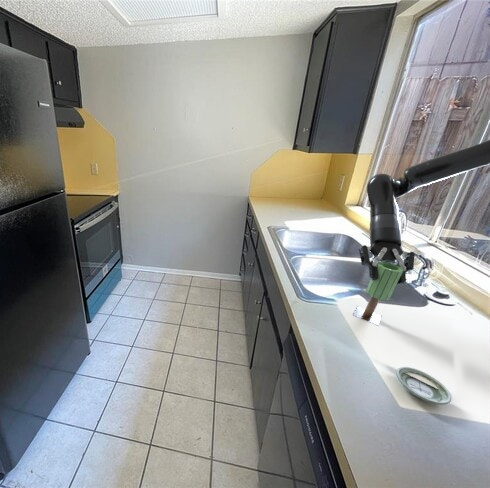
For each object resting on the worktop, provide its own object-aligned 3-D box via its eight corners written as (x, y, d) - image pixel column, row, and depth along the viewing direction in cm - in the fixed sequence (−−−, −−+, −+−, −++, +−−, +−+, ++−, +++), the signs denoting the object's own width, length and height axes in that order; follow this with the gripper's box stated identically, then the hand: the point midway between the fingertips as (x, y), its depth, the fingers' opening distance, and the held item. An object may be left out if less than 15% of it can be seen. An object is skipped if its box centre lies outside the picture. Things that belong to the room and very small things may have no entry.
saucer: (435, 382, 64) (439, 375, 63) (455, 418, 56) (461, 411, 55) (387, 367, 67) (391, 360, 66) (400, 398, 59) (404, 391, 58)
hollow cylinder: (390, 294, 81) (404, 267, 77) (388, 302, 77) (402, 274, 73) (367, 286, 85) (379, 259, 80) (364, 293, 81) (376, 266, 76)
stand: (380, 319, 85) (393, 292, 81) (376, 329, 80) (390, 301, 76) (355, 309, 89) (366, 283, 85) (350, 318, 85) (362, 291, 80)
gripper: (365, 223, 81) (366, 273, 75) (420, 229, 77) (426, 283, 72) (353, 232, 88) (354, 280, 82) (403, 239, 84) (407, 289, 78)
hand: (387, 281), depth 77 cm, fingers closed on hollow cylinder, 6 cm apart
